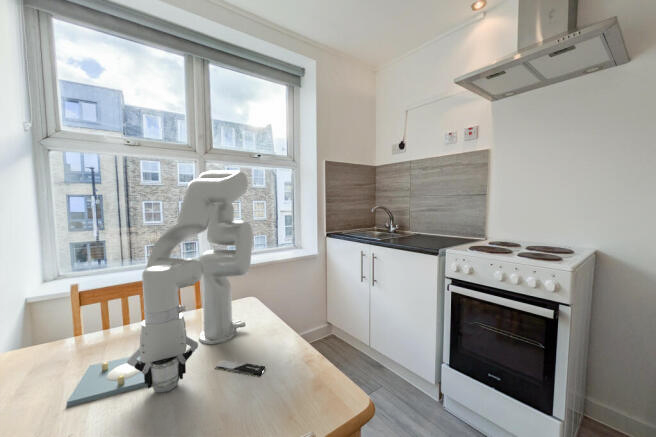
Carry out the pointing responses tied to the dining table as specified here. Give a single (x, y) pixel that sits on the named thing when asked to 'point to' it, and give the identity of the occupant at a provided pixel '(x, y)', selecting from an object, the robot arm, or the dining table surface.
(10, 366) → the dining table surface
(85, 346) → the dining table surface
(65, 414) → the dining table surface
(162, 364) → the camera lens
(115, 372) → the pin board
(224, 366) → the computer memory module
